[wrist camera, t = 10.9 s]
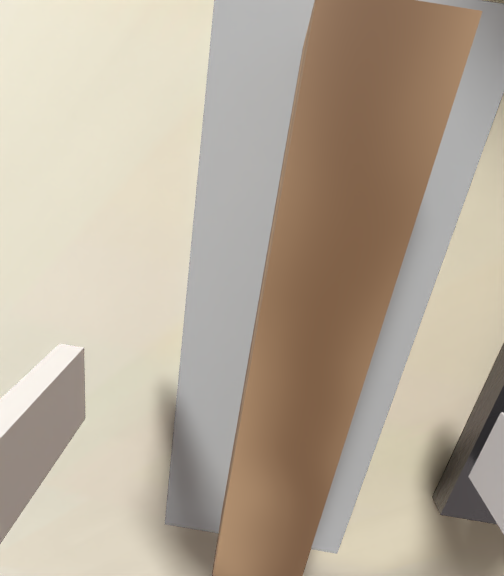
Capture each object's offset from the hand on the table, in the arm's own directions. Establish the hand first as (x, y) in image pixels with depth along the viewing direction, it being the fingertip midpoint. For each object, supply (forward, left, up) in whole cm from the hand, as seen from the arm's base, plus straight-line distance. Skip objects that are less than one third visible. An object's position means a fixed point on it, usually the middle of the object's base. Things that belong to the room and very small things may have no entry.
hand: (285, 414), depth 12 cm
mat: (0, 0, -5) cm, 5 cm away
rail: (0, 0, -5) cm, 5 cm away
